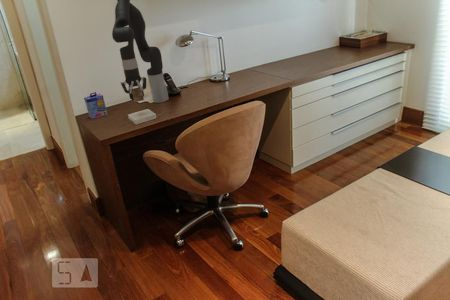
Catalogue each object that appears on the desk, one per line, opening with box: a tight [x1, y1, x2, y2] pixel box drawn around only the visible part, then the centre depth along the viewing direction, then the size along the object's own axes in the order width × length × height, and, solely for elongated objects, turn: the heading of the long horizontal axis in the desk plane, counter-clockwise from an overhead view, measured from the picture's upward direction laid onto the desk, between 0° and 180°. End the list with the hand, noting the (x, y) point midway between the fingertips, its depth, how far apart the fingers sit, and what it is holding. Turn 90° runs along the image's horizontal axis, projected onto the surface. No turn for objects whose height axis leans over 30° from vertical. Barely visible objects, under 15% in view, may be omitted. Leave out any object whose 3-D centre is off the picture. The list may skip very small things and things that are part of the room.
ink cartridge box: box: [83, 91, 108, 120], centre depth 209 cm, size 10×6×14 cm, turn 127°
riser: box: [127, 108, 157, 125], centre depth 199 cm, size 12×12×3 cm
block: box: [131, 86, 145, 103], centre depth 194 cm, size 5×5×6 cm
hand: (137, 98), depth 195 cm, fingers closed on block, 5 cm apart
